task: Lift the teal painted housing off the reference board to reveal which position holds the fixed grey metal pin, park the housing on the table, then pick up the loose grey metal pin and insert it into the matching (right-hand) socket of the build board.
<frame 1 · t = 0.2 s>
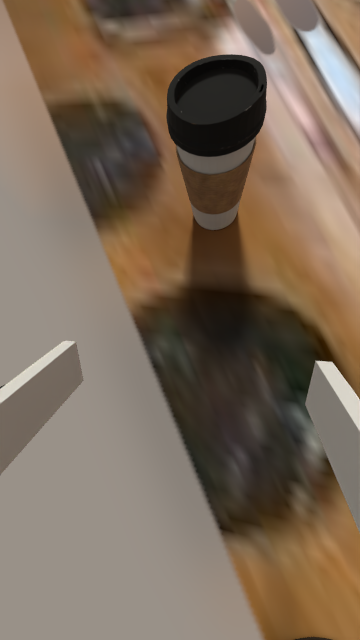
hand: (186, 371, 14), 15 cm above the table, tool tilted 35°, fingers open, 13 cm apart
coffee cup: (215, 212, 33), on the table
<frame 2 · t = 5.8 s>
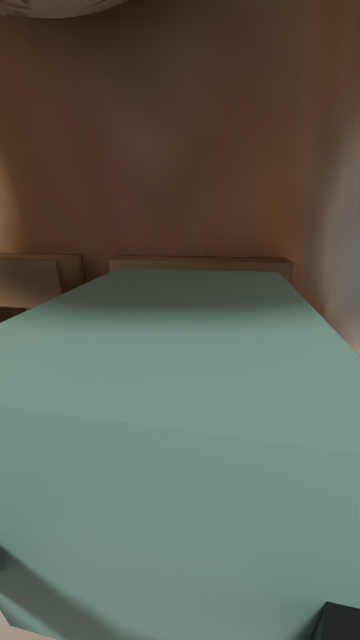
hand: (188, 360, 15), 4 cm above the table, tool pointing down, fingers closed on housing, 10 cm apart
build board: (21, 319, 21), on the table
housing: (193, 343, 17), point 2 cm above the table, touching gripper, reference board
reference board: (196, 331, 18), on the table
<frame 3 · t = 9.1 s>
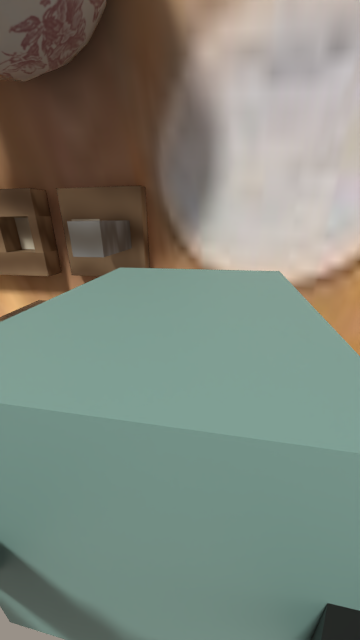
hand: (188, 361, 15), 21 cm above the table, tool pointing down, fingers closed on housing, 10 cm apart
build board: (14, 233, 36), on the table
housing: (194, 343, 17), point 19 cm above the table, touching gripper
pin: (50, 310, 40), on the table
reference board: (109, 233, 34), on the table
when the fingers open (4 cm above the table, at t = 12.6 s): housing drops 1 cm, on the table.
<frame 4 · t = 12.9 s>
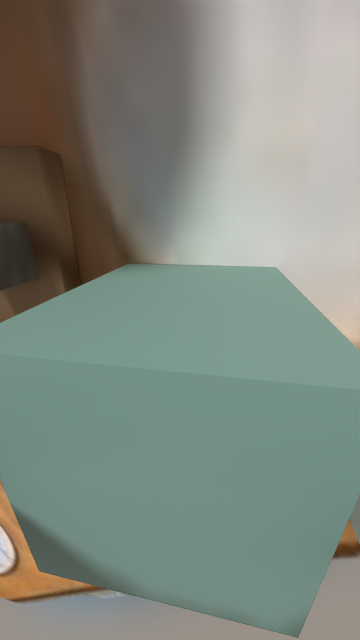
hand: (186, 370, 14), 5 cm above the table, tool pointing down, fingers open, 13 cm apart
housing: (196, 334, 18), on the table
reference board: (6, 247, 18), on the table
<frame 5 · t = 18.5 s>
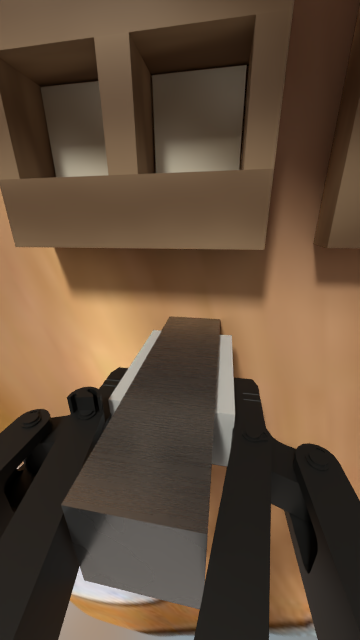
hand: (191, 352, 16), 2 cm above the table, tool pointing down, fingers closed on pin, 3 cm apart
build board: (140, 133, 13), on the table
pin: (194, 340, 17), on the table, touching gripper
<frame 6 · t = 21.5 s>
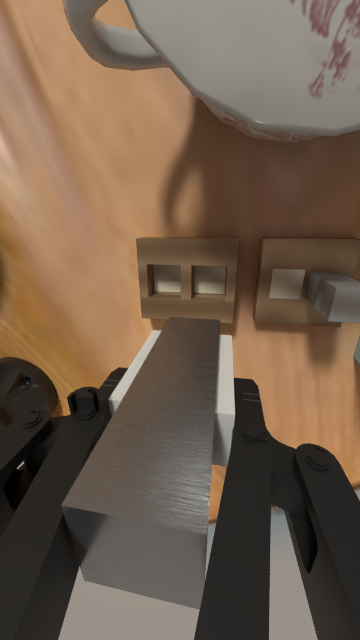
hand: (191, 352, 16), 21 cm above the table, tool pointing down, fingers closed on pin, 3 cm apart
build board: (189, 277, 35), on the table
pin: (194, 340, 17), point 20 cm above the table, touching gripper
reference board: (299, 280, 33), on the table
chamber pot: (292, 17, 24), on the table
when the fingers open (4 cm above the table, at t = 24.7 s): pin drops 2 cm, resting on build board.
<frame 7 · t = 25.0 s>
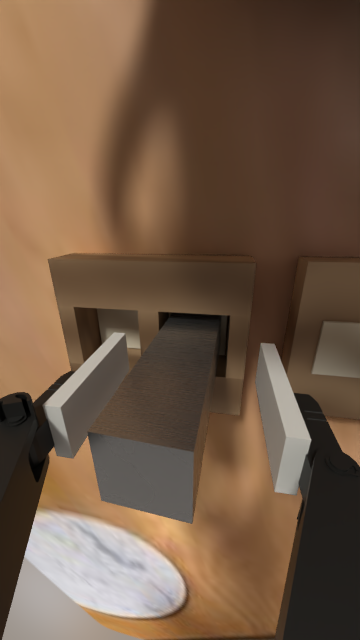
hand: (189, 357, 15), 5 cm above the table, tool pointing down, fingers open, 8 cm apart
build board: (160, 325, 20), on the table
pin: (198, 329, 19), resting on build board
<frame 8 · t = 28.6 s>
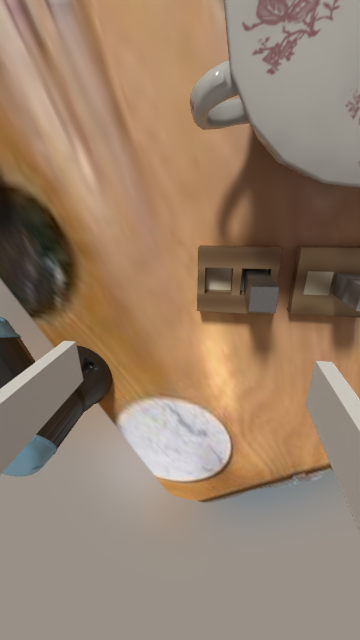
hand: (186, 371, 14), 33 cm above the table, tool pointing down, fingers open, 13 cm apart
build board: (235, 278, 43), on the table
pin: (254, 278, 43), resting on build board
reference board: (327, 280, 41), on the table
chamber pot: (329, 84, 32), on the table
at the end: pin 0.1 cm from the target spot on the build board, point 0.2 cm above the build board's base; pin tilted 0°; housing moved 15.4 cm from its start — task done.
